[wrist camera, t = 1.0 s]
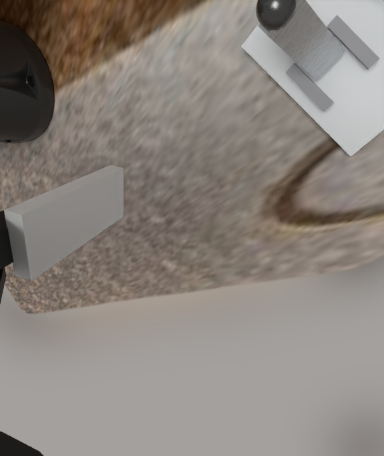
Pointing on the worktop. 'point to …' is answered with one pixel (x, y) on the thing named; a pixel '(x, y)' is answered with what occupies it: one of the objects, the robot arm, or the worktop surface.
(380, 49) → the panel
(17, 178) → the worktop surface
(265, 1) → the lever
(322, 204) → the worktop surface
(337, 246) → the worktop surface
